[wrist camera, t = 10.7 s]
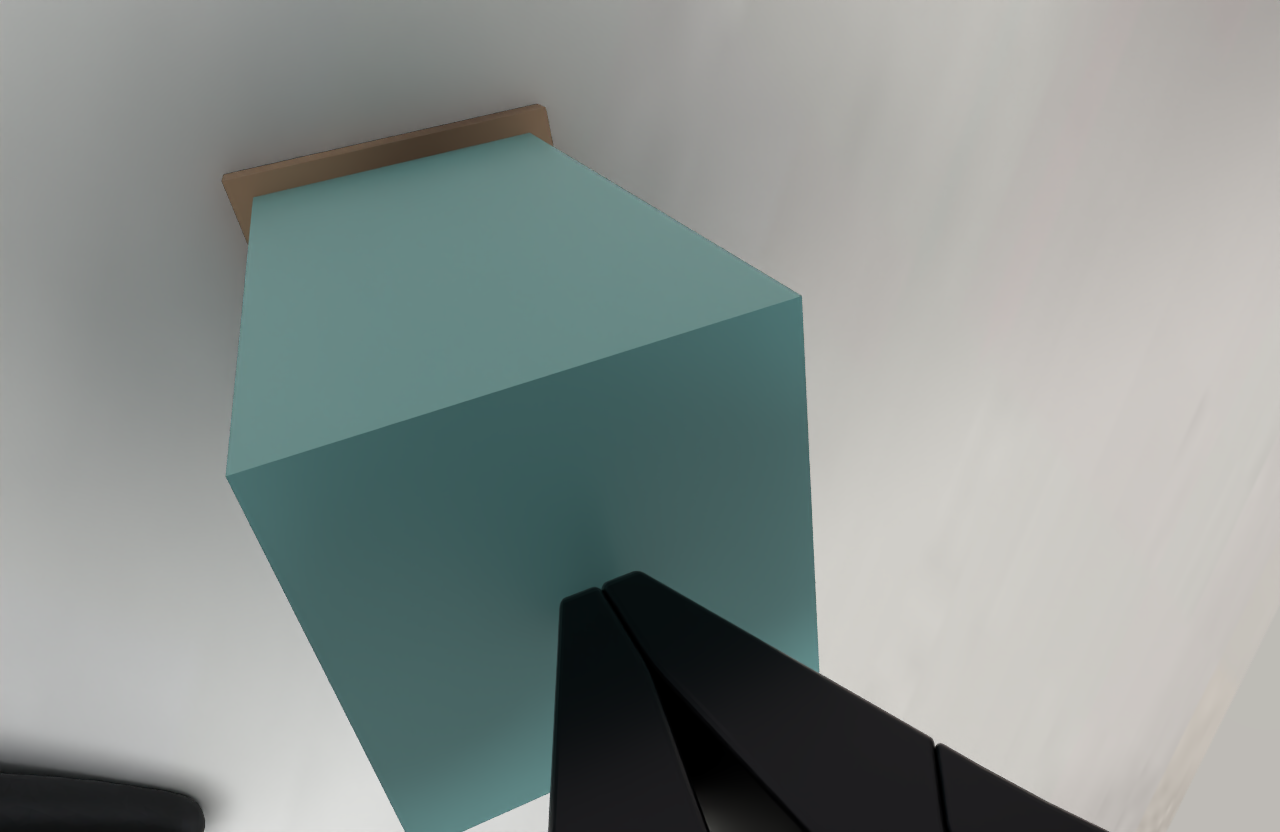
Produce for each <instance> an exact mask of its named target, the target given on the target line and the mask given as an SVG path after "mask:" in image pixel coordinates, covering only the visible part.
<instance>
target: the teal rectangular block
mask: <svg viewBox="0 0 1280 832" xmlns="http://www.w3.org/2000/svg"><path fill="white" fill-rule="evenodd" d="M226 478H227V480H228V482H229V484H230V486H231V488H232V490H233V492H234V494H235V496H236V498H237V500H238V502H239V504H240V506H241V508H242V510H243V512H244V514H245V516H246V518H247V520H248V522H249V524H250V526H251V528H252V530H253V532H254V533H255V535H256V537H257V539H258V541H259V543H260V545H261V547H262V549H263V551H264V553H265V555H266V557H267V559H268V561H269V563H270V565H271V567H272V569H273V571H274V573H275V575H276V577H277V579H278V581H279V583H280V585H281V587H282V589H283V591H284V593H285V595H286V597H287V599H288V601H289V603H290V605H291V607H292V609H293V611H294V613H295V615H296V617H297V619H298V621H299V623H300V625H301V627H302V629H303V631H304V633H305V634H306V636H307V638H308V640H309V642H310V644H311V646H312V648H313V650H314V652H315V654H316V656H317V658H318V660H319V662H320V664H321V666H322V668H323V670H324V672H325V674H326V676H327V678H328V680H329V682H330V684H331V686H332V688H333V690H334V692H335V694H336V696H337V698H338V700H339V702H340V704H341V706H342V708H343V710H344V712H345V714H346V716H347V718H348V720H349V722H350V724H351V726H352V728H353V730H354V732H355V734H356V736H357V737H358V739H359V741H360V743H361V745H362V747H363V749H364V751H365V753H366V755H367V757H368V759H369V761H370V763H371V765H372V767H373V769H374V771H375V773H376V775H377V777H378V779H379V781H380V783H381V785H382V787H383V789H384V791H385V793H386V795H387V797H388V799H389V801H390V803H391V805H392V807H393V809H394V811H395V813H396V815H397V817H398V819H399V821H400V823H401V825H402V827H403V829H404V831H405V832H463V831H465V830H467V829H470V828H472V827H474V826H476V825H478V824H481V823H483V822H485V821H487V820H490V819H492V818H494V817H496V816H499V815H501V814H503V813H505V812H508V811H510V810H512V809H514V808H517V807H519V806H521V805H523V804H526V803H528V802H530V801H532V800H535V799H537V798H539V797H541V796H543V795H546V794H548V793H550V786H551V766H552V746H553V725H554V705H555V685H556V665H557V644H558V624H559V606H560V603H561V601H562V599H563V598H565V597H568V596H570V595H573V594H575V593H578V592H581V591H583V590H586V589H588V588H591V587H598V588H599V589H602V586H603V584H604V583H605V582H607V581H609V580H612V579H614V578H617V577H619V576H622V575H625V574H627V573H630V572H632V571H641V572H644V573H645V574H647V575H649V576H651V577H652V578H654V579H656V580H658V581H659V582H661V583H663V584H665V585H666V586H668V587H670V588H672V589H673V590H675V591H677V592H679V593H680V594H682V595H684V596H686V597H687V598H689V599H691V600H692V601H694V602H696V603H698V604H699V605H701V606H703V607H705V608H706V609H708V610H710V611H712V612H713V613H715V614H717V615H719V616H720V617H722V618H724V619H726V620H727V621H729V622H731V623H733V624H734V625H736V626H738V627H740V628H741V629H743V630H745V631H747V632H748V633H750V634H752V635H753V636H755V637H757V638H759V639H760V640H762V641H764V642H766V643H767V644H769V645H771V646H773V647H774V648H776V649H778V650H780V651H781V652H783V653H785V654H787V655H788V656H790V657H792V658H794V659H795V660H797V661H799V662H801V663H802V664H804V665H806V666H808V667H809V668H811V669H813V670H814V671H816V672H818V673H819V656H818V635H817V613H816V592H815V570H814V549H813V527H812V506H811V484H810V463H809V441H808V420H807V399H806V377H805V356H804V334H803V313H802V296H801V295H799V294H798V293H796V292H794V291H793V290H791V289H789V288H788V287H786V286H784V285H783V284H781V283H779V282H778V281H776V280H774V279H773V278H771V277H769V276H768V275H766V274H764V273H763V272H761V271H759V270H758V269H756V268H754V267H753V266H751V265H749V264H748V263H746V262H744V261H743V260H741V259H739V258H738V257H736V256H734V255H733V254H731V253H729V252H728V251H726V250H724V249H723V248H721V247H719V246H718V245H716V244H714V243H713V242H711V241H709V240H708V239H706V238H704V237H703V236H701V235H699V234H698V233H696V232H694V231H693V230H691V229H689V228H688V227H686V226H684V225H683V224H681V223H679V222H678V221H676V220H674V219H673V218H671V217H669V216H668V215H666V214H664V213H663V212H661V211H659V210H658V209H656V208H654V207H653V206H651V205H649V204H648V203H646V202H644V201H643V200H641V199H639V198H638V197H636V196H634V195H633V194H631V193H629V192H628V191H626V190H624V189H623V188H621V187H619V186H618V185H616V184H614V183H613V182H611V181H609V180H608V179H606V178H604V177H603V176H601V175H599V174H598V173H596V172H594V171H593V170H591V169H589V168H588V167H586V166H584V165H583V164H581V163H579V162H578V161H576V160H574V159H573V158H571V157H569V156H568V155H566V154H564V153H563V152H561V151H559V150H558V149H556V148H554V147H553V146H551V145H549V144H548V143H546V142H544V141H543V140H541V139H539V138H538V137H536V136H535V135H533V134H531V133H526V134H522V135H517V136H513V137H509V138H505V139H500V140H496V141H492V142H488V143H483V144H479V145H475V146H470V147H466V148H462V149H458V150H453V151H449V152H445V153H441V154H436V155H432V156H428V157H423V158H419V159H415V160H411V161H406V162H402V163H398V164H394V165H389V166H385V167H381V168H377V169H372V170H368V171H364V172H359V173H355V174H351V175H347V176H342V177H338V178H334V179H330V180H325V181H321V182H317V183H313V184H308V185H304V186H300V187H295V188H291V189H287V190H283V191H278V192H274V193H270V194H266V195H261V196H257V197H253V203H252V213H251V224H250V234H249V244H248V254H247V264H246V274H245V285H244V295H243V305H242V315H241V325H240V335H239V346H238V356H237V366H236V376H235V386H234V396H233V407H232V417H231V427H230V437H229V447H228V457H227V468H226Z"/></svg>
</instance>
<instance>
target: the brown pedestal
mask: <svg viewBox="0 0 1280 832" xmlns="http://www.w3.org/2000/svg"><path fill="white" fill-rule="evenodd" d="M526 133H531V134H533V135H535V136H536V137H538V138H539V139H541V140H543V141H544V142H546V143H548V144H549V145H551V146H553V142H552V137H551V132H550V127H549V121H548V116H547V111H546V107H543V106H541V105H539V104H534V105H530V106H525V107H521V108H517V109H512V110H508V111H503V112H499V113H494V114H490V115H486V116H481V117H477V118H472V119H468V120H463V121H459V122H454V123H450V124H446V125H441V126H437V127H432V128H428V129H423V130H419V131H415V132H410V133H406V134H401V135H397V136H392V137H388V138H384V139H379V140H375V141H370V142H366V143H361V144H357V145H353V146H348V147H344V148H339V149H335V150H330V151H326V152H322V153H317V154H313V155H308V156H304V157H299V158H295V159H291V160H286V161H282V162H277V163H273V164H268V165H264V166H260V167H255V168H251V169H246V170H242V171H237V172H233V173H229V174H224V175H223V178H222V183H223V186H224V188H225V191H226V193H227V195H228V198H229V200H230V203H231V205H232V207H233V210H234V212H235V215H236V217H237V220H238V222H239V224H240V227H241V229H242V232H243V234H244V237H245V239H246V241H247V244H249V234H250V224H251V213H252V203H253V197H257V196H261V195H266V194H270V193H274V192H278V191H283V190H287V189H291V188H295V187H300V186H304V185H308V184H313V183H317V182H321V181H325V180H330V179H334V178H338V177H342V176H347V175H351V174H355V173H359V172H364V171H368V170H372V169H377V168H381V167H385V166H389V165H394V164H398V163H402V162H406V161H411V160H415V159H419V158H423V157H428V156H432V155H436V154H441V153H445V152H449V151H453V150H458V149H462V148H466V147H470V146H475V145H479V144H483V143H488V142H492V141H496V140H500V139H505V138H509V137H513V136H517V135H522V134H526Z"/></svg>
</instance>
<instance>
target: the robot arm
mask: <svg viewBox="0 0 1280 832" xmlns="http://www.w3.org/2000/svg"><path fill="white" fill-rule="evenodd" d="M548 832H1109V831H1107V830H1105V829H1103V828H1101V827H1099V826H1097V825H1094V824H1092V823H1090V822H1088V821H1086V820H1084V819H1082V818H1080V817H1078V816H1076V815H1074V814H1072V813H1070V812H1068V811H1066V810H1064V809H1061V808H1059V807H1057V806H1055V805H1053V804H1051V803H1049V802H1047V801H1045V800H1043V799H1041V798H1040V797H1038V796H1036V795H1034V794H1032V793H1030V792H1029V791H1027V790H1025V789H1023V788H1021V787H1019V786H1017V785H1016V784H1014V783H1012V782H1010V781H1008V780H1006V779H1005V778H1003V777H1001V776H999V775H997V774H995V773H993V772H992V771H990V770H988V769H986V768H984V767H982V766H981V765H979V764H977V763H975V762H974V761H972V760H970V759H968V758H967V757H965V756H963V755H961V754H960V753H958V752H956V751H954V750H953V749H951V748H949V747H948V746H946V745H944V744H942V743H939V744H937V745H936V746H935V745H934V741H933V739H932V738H931V737H930V736H928V735H926V734H924V733H923V732H921V731H919V730H917V729H916V728H914V727H912V726H910V725H909V724H907V723H905V722H903V721H902V720H900V719H898V718H896V717H895V716H893V715H891V714H889V713H888V712H886V711H884V710H882V709H881V708H879V707H877V706H875V705H874V704H872V703H870V702H869V701H867V700H865V699H863V698H862V697H860V696H858V695H856V694H855V693H853V692H851V691H849V690H848V689H846V688H844V687H842V686H841V685H839V684H837V683H835V682H834V681H832V680H830V679H828V678H827V677H825V676H823V675H821V674H820V673H818V672H816V671H814V670H813V669H811V668H809V667H808V666H806V665H804V664H802V663H801V662H799V661H797V660H795V659H794V658H792V657H790V656H788V655H787V654H785V653H783V652H781V651H780V650H778V649H776V648H774V647H773V646H771V645H769V644H767V643H766V642H764V641H762V640H760V639H759V638H757V637H755V636H753V635H752V634H750V633H748V632H747V631H745V630H743V629H741V628H740V627H738V626H736V625H734V624H733V623H731V622H729V621H727V620H726V619H724V618H722V617H720V616H719V615H717V614H715V613H713V612H712V611H710V610H708V609H706V608H705V607H703V606H701V605H699V604H698V603H696V602H694V601H692V600H691V599H689V598H687V597H686V596H684V595H682V594H680V593H679V592H677V591H675V590H673V589H672V588H670V587H668V586H666V585H665V584H663V583H661V582H659V581H658V580H656V579H654V578H652V577H651V576H649V575H647V574H645V573H644V572H641V571H632V572H630V573H627V574H625V575H622V576H619V577H617V578H614V579H612V580H609V581H607V582H605V583H604V584H603V586H602V589H599V588H598V587H591V588H588V589H586V590H583V591H581V592H578V593H575V594H573V595H570V596H568V597H565V598H563V599H562V601H561V603H560V606H559V624H558V644H557V665H556V685H555V705H554V725H553V746H552V766H551V786H550V806H549V827H548Z"/></svg>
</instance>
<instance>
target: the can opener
mask: <svg viewBox="0 0 1280 832" xmlns="http://www.w3.org/2000/svg"><path fill="white" fill-rule="evenodd" d="M204 828H205V819H204V815H203V812H202V810H201V808H200V806H199V805H198V804H197V803H196V802H194V801H193V800H191V799H190V798H188V797H186V796H183V795H179V794H175V793H172V792H168V791H161V790H155V789H148V788H141V787H135V786H129V785H120V784H112V783H108V782H102V781H93V780H79V779H71V778H62V777H44V776H35V775H16V774H0V832H204Z"/></svg>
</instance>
